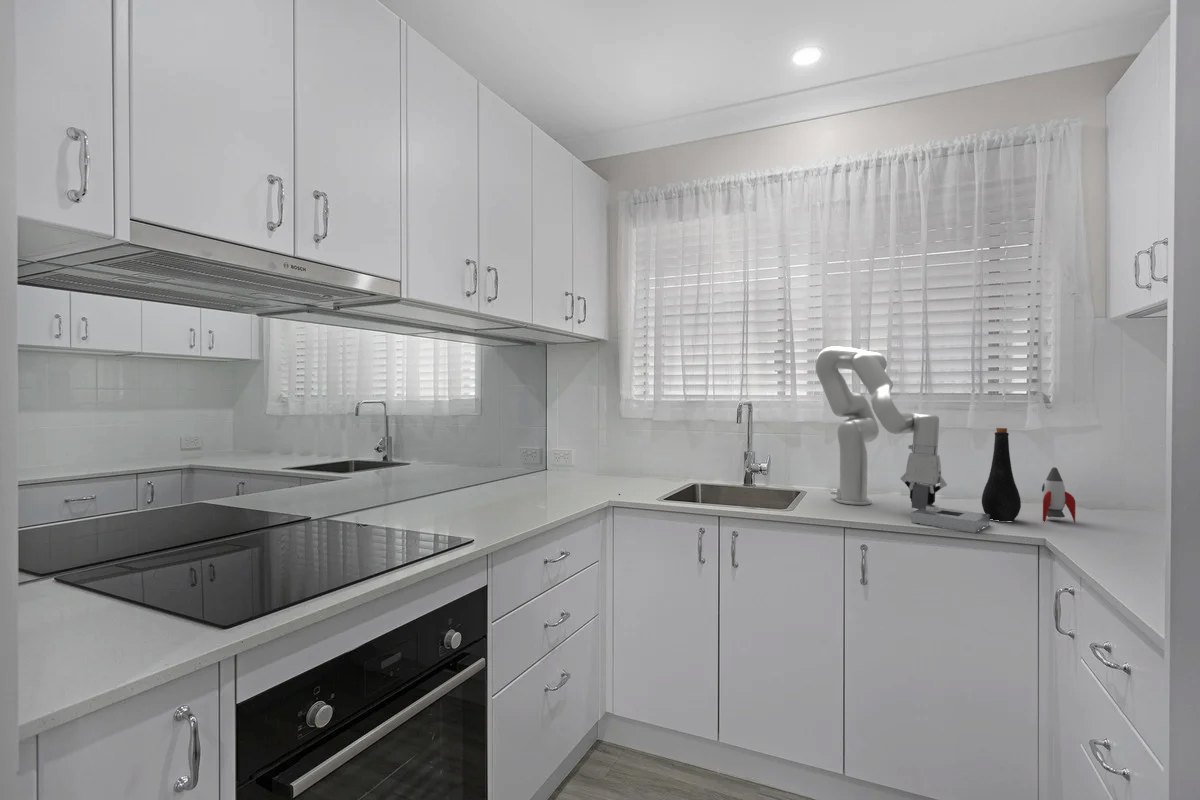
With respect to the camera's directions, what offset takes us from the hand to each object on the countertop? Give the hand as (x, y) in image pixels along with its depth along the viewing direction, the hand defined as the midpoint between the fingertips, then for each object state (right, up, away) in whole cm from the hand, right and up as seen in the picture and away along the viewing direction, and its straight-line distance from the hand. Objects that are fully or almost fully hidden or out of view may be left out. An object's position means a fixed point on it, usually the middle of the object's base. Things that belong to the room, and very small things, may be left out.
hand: (922, 502), depth 203 cm
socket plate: (0, -4, -16) cm, 17 cm away
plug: (+1, -2, +1) cm, 2 cm away
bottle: (+20, -4, -10) cm, 23 cm away
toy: (+37, -4, -13) cm, 39 cm away
